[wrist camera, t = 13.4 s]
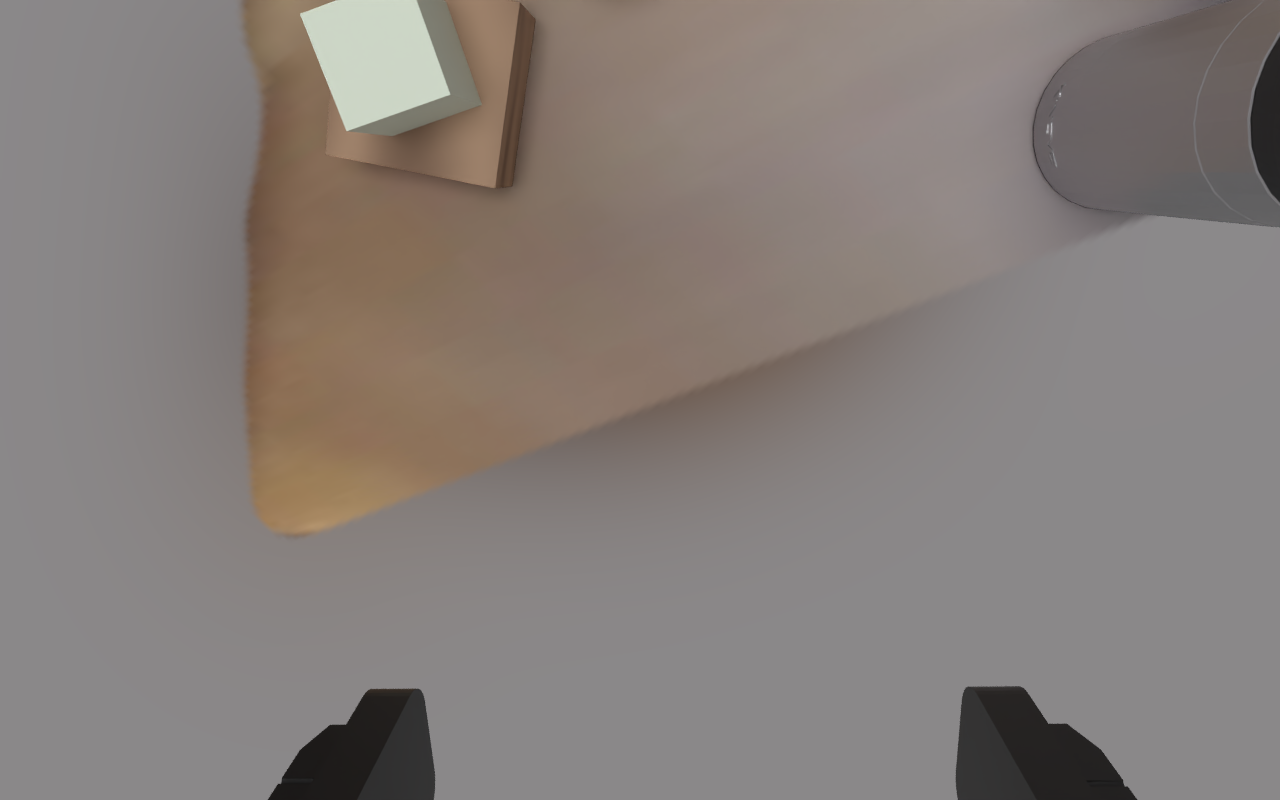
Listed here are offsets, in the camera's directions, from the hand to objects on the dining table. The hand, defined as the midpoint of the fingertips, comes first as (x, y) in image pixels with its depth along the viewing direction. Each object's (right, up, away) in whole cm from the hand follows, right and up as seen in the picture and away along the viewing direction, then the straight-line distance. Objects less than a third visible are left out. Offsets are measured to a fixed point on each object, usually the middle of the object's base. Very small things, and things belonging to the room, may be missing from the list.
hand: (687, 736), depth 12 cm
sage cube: (-12, +22, +28) cm, 37 cm away
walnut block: (-12, +23, +33) cm, 42 cm away
